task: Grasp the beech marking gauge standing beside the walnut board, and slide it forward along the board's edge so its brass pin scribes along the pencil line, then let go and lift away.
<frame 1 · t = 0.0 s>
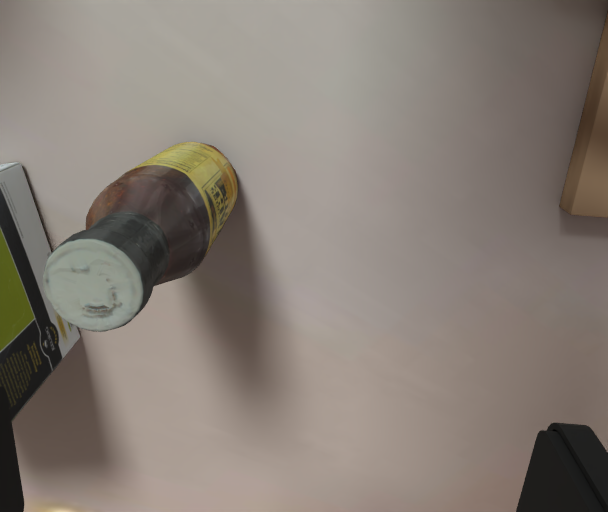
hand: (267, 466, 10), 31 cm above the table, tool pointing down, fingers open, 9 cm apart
sauce bottle: (200, 178, 40), on the table
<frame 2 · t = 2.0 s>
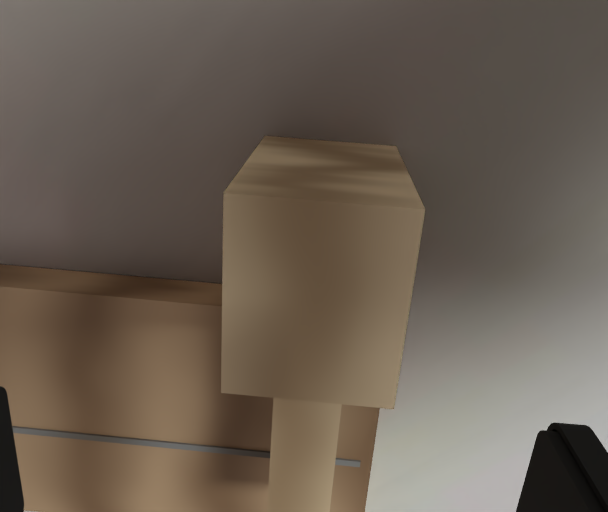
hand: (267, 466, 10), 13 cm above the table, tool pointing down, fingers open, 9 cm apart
gauge: (323, 215, 22), on the table
board: (117, 389, 26), on the table
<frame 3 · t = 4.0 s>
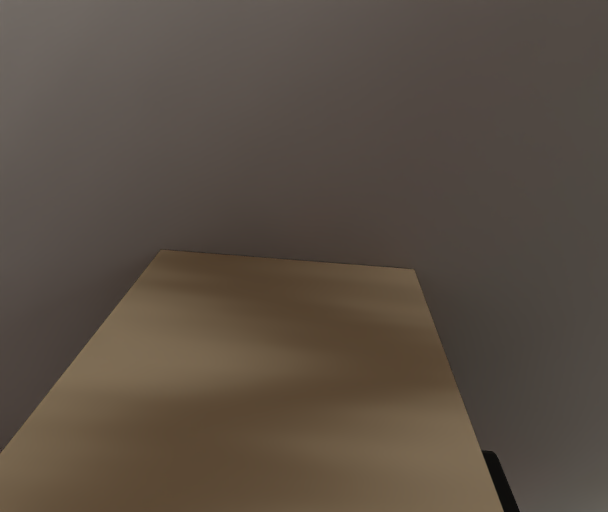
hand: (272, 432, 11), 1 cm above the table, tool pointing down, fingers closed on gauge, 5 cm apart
gauge: (279, 387, 12), on the table, touching gripper
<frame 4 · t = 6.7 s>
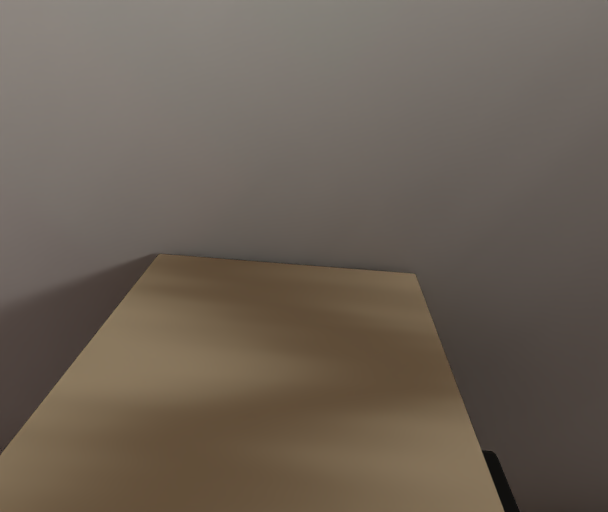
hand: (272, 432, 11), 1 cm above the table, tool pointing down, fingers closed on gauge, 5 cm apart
gauge: (278, 392, 12), on the table, touching gripper
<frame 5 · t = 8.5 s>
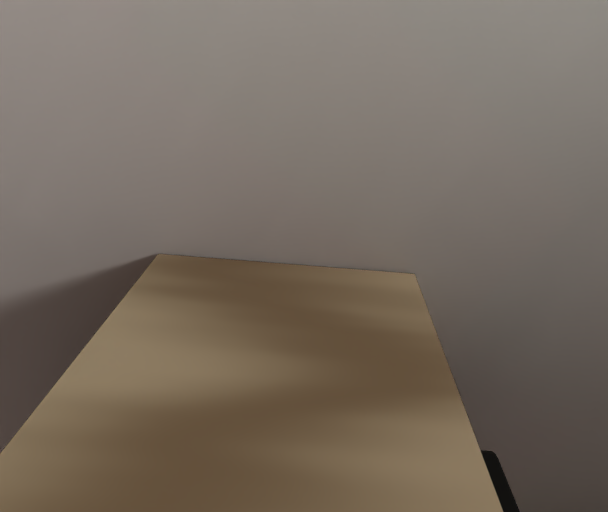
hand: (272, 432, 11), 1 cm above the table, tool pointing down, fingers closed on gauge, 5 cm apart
gauge: (278, 393, 12), on the table, touching gripper
when the fingers open (1 cm above the table, at t = 9.5 s): gauge stays where it is, on the table.
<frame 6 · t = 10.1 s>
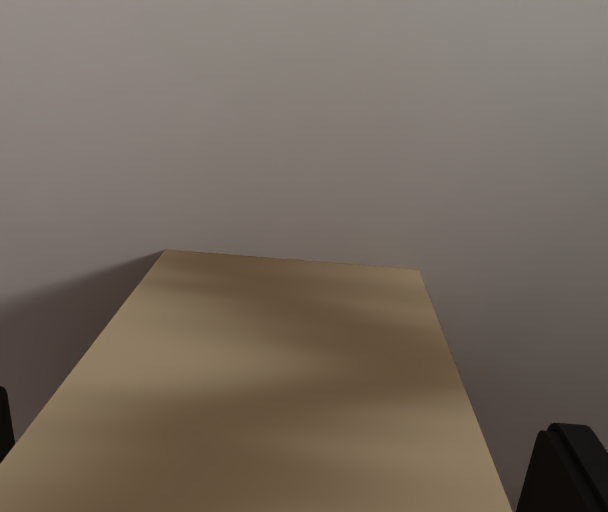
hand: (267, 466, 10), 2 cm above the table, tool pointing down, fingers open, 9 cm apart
gauge: (283, 387, 12), on the table
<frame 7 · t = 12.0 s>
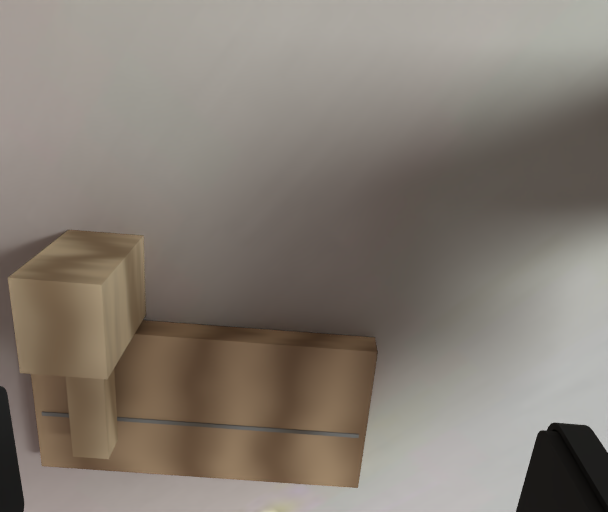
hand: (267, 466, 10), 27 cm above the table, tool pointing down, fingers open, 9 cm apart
gauge: (108, 273, 38), on the table
board: (206, 395, 42), on the table
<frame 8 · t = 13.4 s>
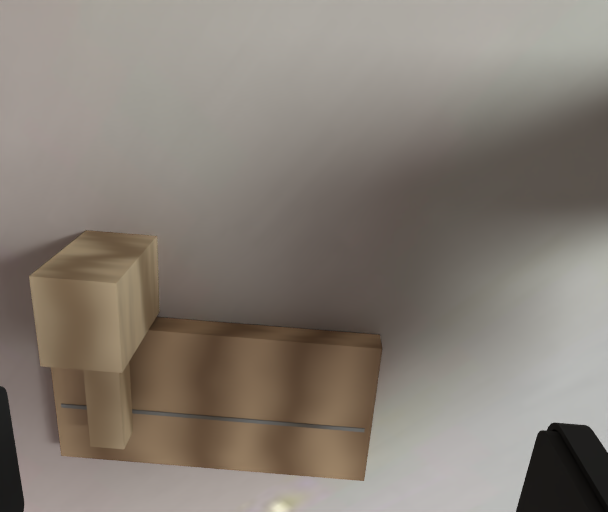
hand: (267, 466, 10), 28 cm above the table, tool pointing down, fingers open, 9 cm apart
gauge: (123, 272, 40), on the table
board: (217, 389, 43), on the table
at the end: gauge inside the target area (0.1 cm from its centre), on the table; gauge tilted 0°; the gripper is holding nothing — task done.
